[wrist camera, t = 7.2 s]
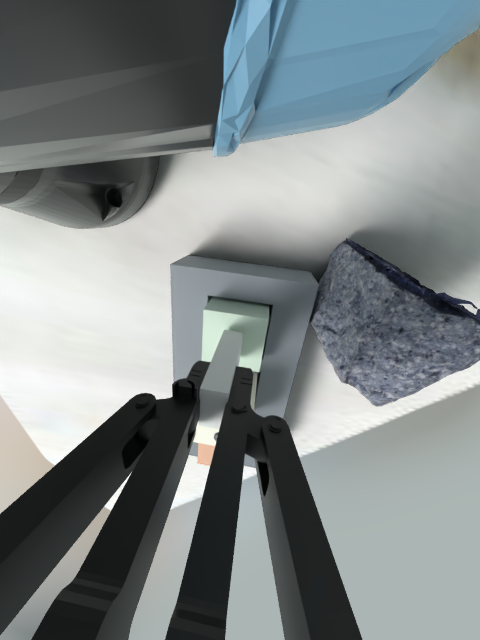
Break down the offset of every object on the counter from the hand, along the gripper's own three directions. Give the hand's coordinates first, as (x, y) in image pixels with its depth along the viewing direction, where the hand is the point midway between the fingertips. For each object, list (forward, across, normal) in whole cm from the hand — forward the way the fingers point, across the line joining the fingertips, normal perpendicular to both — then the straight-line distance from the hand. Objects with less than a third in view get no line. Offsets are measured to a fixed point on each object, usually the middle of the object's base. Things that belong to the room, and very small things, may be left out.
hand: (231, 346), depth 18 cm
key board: (+7, 0, -7) cm, 10 cm away
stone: (+8, +10, +3) cm, 13 cm away
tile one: (+5, 0, 0) cm, 5 cm away
